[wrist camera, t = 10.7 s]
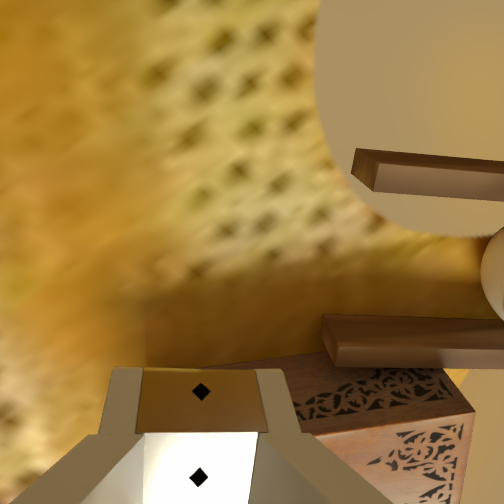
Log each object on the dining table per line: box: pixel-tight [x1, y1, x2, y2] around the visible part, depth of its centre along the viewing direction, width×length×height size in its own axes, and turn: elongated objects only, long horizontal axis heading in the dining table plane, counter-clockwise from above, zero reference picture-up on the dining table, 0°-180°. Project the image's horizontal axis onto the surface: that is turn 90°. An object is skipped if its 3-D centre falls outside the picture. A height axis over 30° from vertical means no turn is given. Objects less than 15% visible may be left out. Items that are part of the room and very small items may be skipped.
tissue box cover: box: [193, 352, 476, 504], centre depth 43 cm, size 26×14×10 cm, turn 93°
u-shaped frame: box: [320, 148, 504, 369], centre depth 40 cm, size 17×24×5 cm
